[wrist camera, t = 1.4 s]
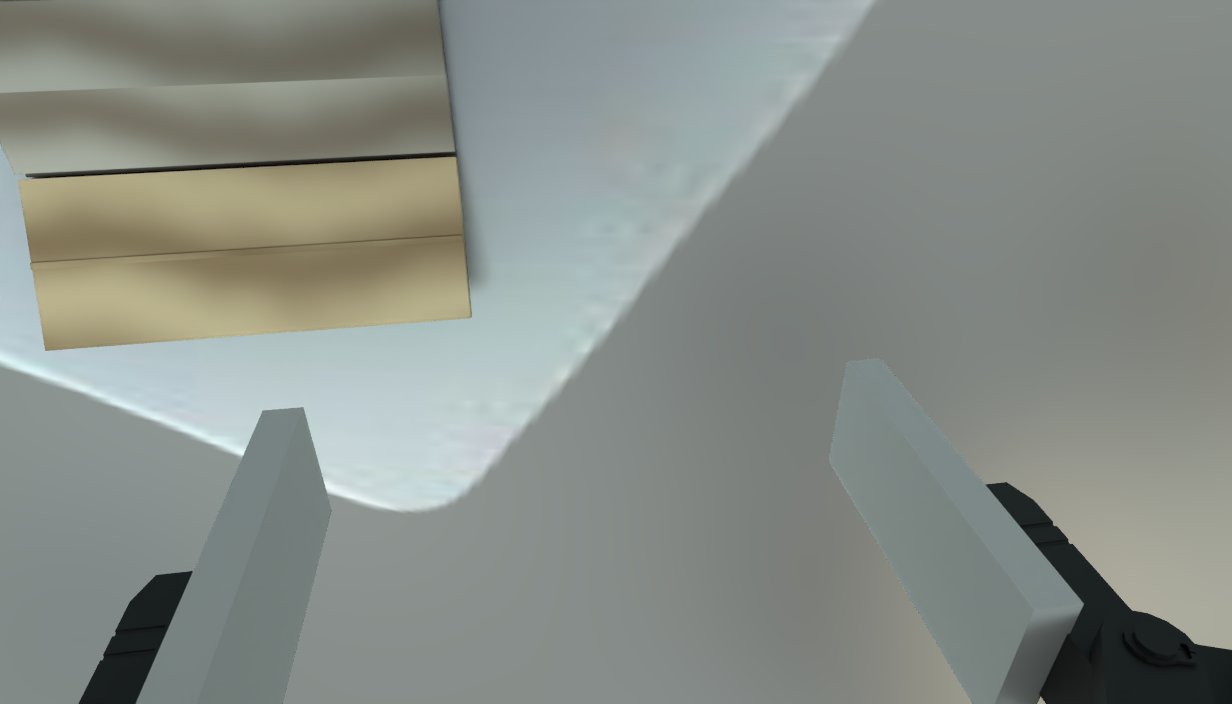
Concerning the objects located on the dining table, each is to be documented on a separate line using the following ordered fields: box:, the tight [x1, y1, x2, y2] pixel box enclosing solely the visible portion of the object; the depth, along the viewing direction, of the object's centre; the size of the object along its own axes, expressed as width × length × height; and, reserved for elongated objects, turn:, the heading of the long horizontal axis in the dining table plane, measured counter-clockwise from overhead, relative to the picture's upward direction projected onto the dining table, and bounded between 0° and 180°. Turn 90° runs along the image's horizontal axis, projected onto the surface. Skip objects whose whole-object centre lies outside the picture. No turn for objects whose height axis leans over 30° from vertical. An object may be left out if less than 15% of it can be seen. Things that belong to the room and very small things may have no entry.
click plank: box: [18, 157, 472, 351], centre depth 37 cm, size 8×20×1 cm, turn 91°
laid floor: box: [0, 0, 457, 177], centre depth 35 cm, size 8×20×1 cm, turn 90°
